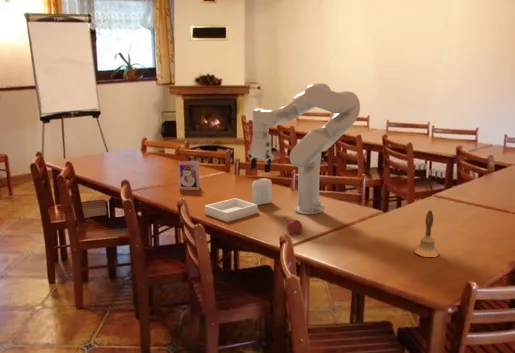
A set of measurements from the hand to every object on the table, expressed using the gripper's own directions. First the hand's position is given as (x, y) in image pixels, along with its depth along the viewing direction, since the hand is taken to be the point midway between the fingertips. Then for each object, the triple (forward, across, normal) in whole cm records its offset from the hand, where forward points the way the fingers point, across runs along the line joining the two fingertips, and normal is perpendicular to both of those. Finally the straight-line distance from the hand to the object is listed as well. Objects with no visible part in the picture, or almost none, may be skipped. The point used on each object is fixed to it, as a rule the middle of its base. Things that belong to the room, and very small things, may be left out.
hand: (260, 170), depth 244 cm
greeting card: (+18, +49, +7) cm, 53 cm away
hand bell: (+15, -90, +2) cm, 91 cm away
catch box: (+17, -3, +21) cm, 27 cm away
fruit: (+16, -40, +19) cm, 47 cm away
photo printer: (+17, -1, 0) cm, 17 cm away
